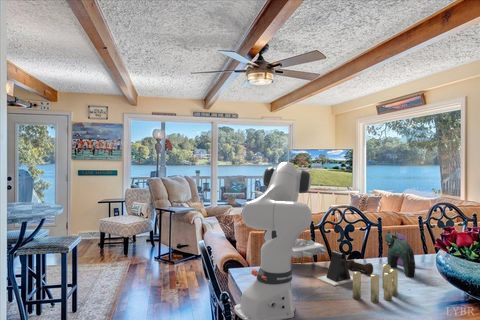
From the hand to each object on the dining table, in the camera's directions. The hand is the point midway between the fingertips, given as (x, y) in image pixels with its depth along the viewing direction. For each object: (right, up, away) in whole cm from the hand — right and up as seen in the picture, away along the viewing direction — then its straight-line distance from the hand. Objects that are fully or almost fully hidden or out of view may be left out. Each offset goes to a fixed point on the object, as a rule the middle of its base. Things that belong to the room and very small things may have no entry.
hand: (318, 254), depth 155 cm
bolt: (+20, -9, +2) cm, 22 cm away
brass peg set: (+17, -8, -29) cm, 35 cm away
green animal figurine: (+41, -9, +2) cm, 42 cm away
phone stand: (+6, -8, -11) cm, 15 cm away
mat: (+6, -8, -10) cm, 15 cm away
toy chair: (+47, -9, +15) cm, 50 cm away
